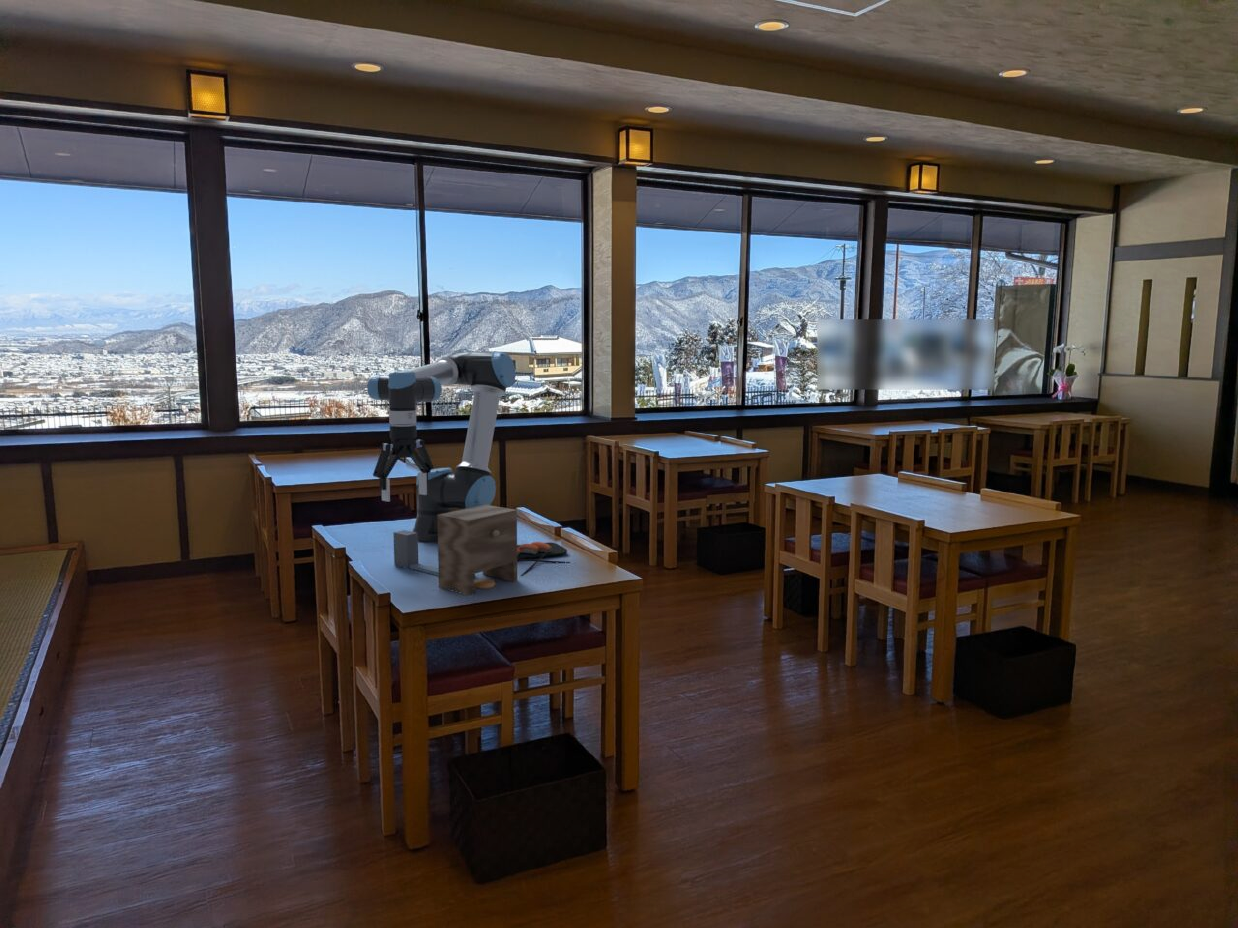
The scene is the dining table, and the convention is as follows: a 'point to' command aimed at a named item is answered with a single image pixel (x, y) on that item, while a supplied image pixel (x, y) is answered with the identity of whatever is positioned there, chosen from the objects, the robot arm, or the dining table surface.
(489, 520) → the cabinet
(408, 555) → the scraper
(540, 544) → the sushi plate
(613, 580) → the dining table surface
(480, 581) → the puck
